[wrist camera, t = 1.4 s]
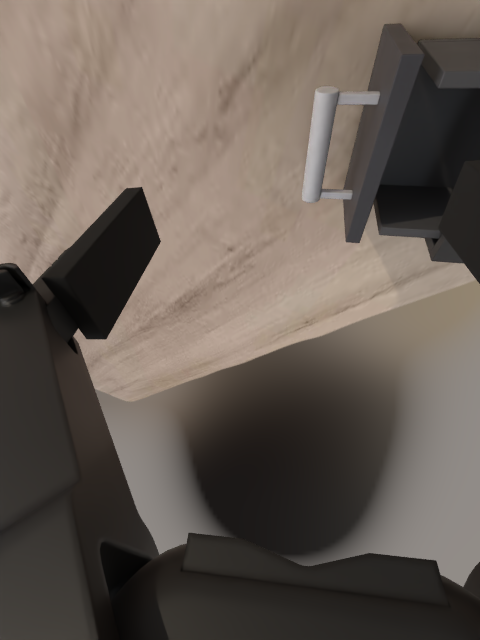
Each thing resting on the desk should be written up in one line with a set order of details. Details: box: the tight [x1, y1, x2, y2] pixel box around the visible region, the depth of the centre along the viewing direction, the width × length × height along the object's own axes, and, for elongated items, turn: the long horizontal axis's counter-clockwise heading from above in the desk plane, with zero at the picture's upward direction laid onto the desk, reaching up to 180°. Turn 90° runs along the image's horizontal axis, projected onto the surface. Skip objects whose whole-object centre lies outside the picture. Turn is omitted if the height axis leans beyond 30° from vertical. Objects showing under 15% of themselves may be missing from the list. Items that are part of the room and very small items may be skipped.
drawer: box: [302, 24, 480, 243], centre depth 22 cm, size 19×13×8 cm, turn 93°
